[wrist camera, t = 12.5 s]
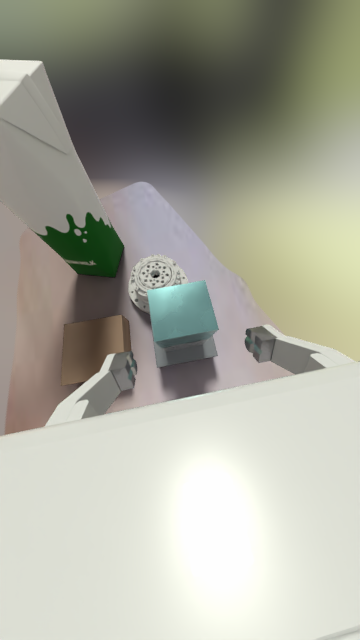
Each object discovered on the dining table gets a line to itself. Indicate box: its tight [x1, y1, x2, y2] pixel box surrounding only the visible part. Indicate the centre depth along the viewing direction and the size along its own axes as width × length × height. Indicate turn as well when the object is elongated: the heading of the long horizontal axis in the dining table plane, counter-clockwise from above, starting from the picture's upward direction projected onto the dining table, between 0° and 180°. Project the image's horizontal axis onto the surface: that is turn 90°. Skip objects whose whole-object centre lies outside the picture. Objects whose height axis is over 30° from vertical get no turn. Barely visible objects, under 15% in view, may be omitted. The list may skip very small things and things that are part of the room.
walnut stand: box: [61, 315, 131, 386], centre depth 21 cm, size 8×8×3 cm
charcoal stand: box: [150, 315, 218, 367], centre depth 21 cm, size 8×8×3 cm
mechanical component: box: [128, 254, 188, 314], centre depth 23 cm, size 10×4×10 cm
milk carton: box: [0, 60, 124, 277], centre depth 18 cm, size 9×9×20 cm
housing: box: [147, 280, 219, 352], centre depth 16 cm, size 5×4×9 cm
